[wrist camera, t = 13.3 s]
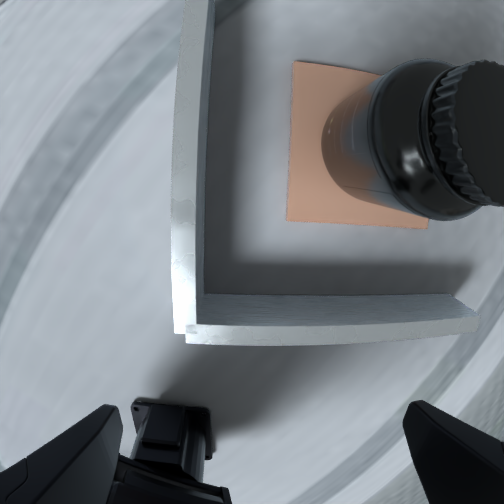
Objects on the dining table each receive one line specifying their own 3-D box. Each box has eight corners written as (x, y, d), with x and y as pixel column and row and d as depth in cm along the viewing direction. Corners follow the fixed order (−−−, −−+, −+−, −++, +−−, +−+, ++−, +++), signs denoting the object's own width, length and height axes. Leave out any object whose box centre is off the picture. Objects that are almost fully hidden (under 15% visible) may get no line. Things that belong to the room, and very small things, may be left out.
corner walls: (444, 307, 22) (476, 331, 18) (186, 309, 21) (175, 342, 17) (462, 60, 18) (497, 47, 13) (197, 13, 16) (188, -21, 12)
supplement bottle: (425, 124, 18) (566, 107, 7) (395, 216, 20) (533, 270, 8) (336, 77, 17) (445, -8, 6) (301, 177, 19) (396, 191, 7)
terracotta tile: (423, 227, 21) (427, 229, 20) (285, 219, 20) (287, 221, 20) (429, 90, 18) (433, 89, 18) (292, 64, 18) (293, 61, 17)
